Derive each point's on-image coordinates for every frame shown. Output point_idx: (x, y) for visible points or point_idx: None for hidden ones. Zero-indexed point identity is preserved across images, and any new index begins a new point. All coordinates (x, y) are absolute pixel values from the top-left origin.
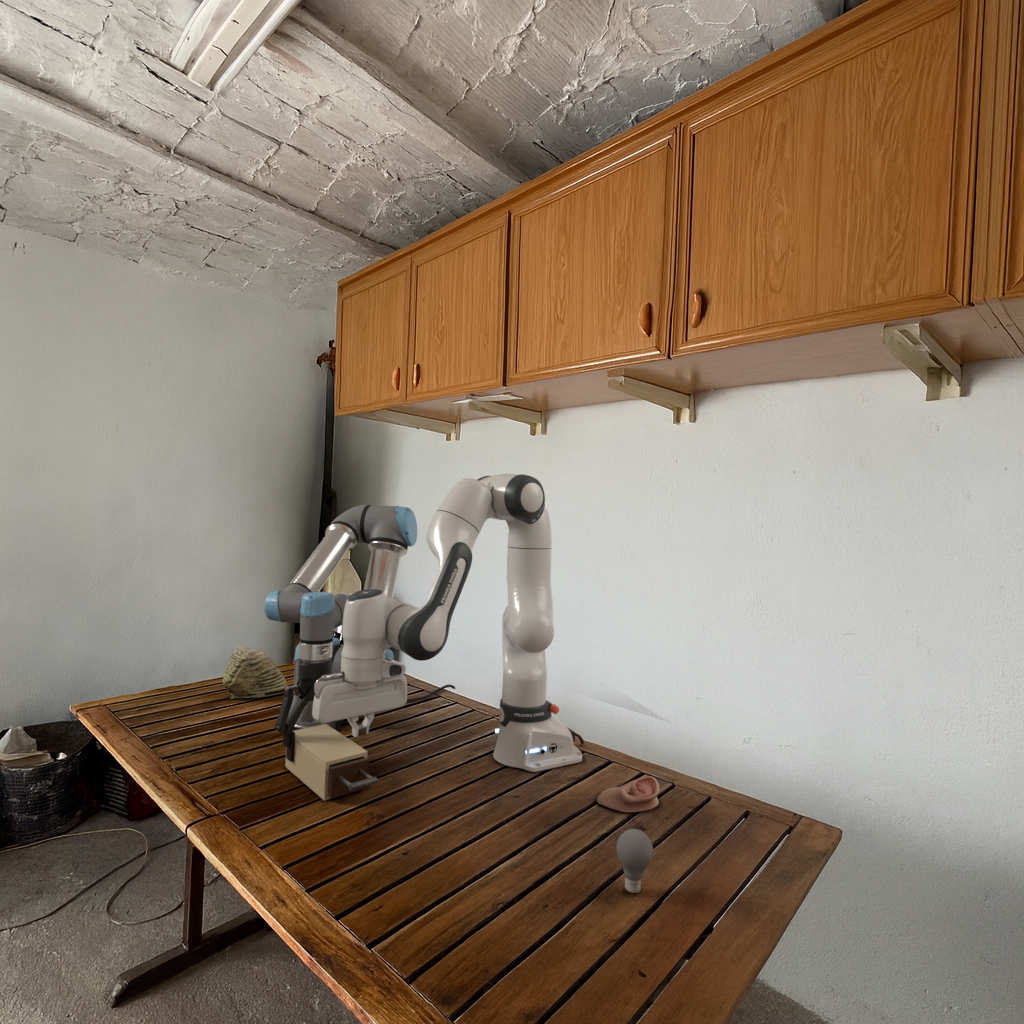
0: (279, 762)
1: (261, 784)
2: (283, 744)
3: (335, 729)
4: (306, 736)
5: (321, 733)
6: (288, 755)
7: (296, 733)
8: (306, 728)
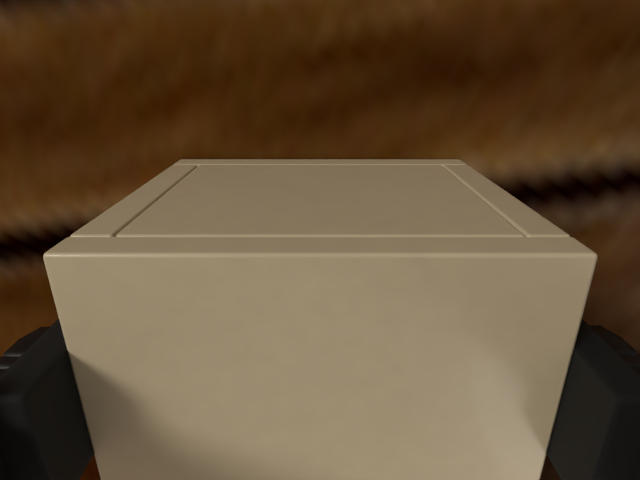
0: (166, 56)
1: (8, 298)
2: (34, 333)
3: (553, 456)
4: (214, 467)
5: (377, 474)
6: None
7: (143, 353)
8: (307, 272)
